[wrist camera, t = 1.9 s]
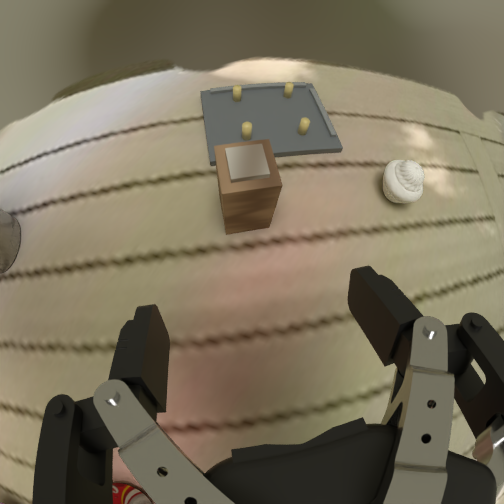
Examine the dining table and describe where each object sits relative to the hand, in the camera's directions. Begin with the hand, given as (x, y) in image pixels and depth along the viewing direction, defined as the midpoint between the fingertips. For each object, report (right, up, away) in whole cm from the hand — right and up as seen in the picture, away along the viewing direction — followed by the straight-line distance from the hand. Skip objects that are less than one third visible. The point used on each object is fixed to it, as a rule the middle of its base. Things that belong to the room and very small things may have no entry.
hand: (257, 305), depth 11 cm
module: (-1, +7, +21) cm, 23 cm away
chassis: (+2, +21, +25) cm, 33 cm away
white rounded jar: (+19, +10, +24) cm, 32 cm away
